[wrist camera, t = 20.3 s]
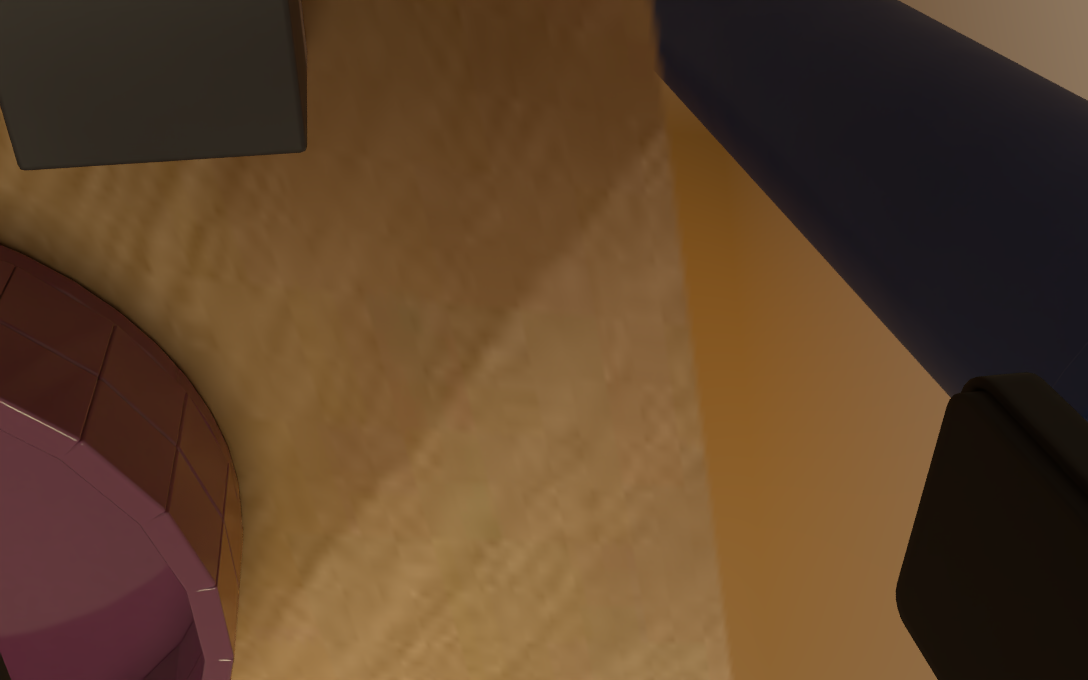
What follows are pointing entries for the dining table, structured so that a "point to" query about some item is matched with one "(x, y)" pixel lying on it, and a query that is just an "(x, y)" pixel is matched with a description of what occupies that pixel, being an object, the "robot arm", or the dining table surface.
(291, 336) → the dining table surface
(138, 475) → the bowl
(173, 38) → the eraser
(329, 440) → the dining table surface
